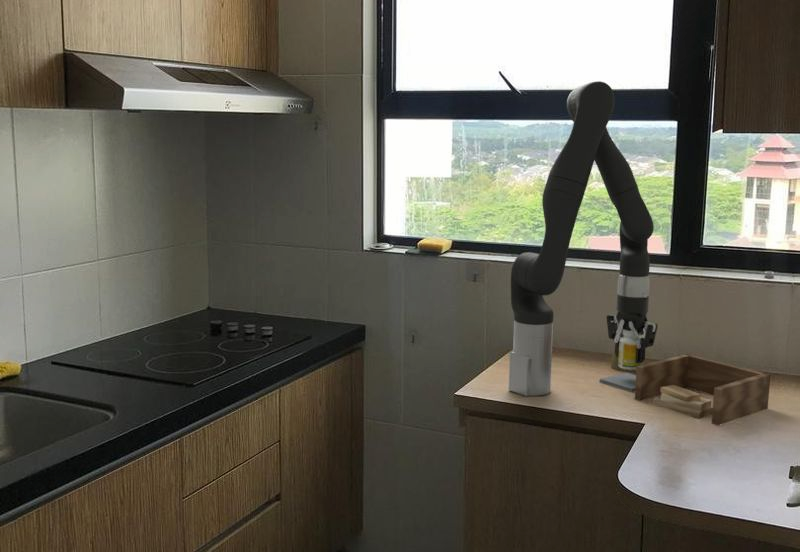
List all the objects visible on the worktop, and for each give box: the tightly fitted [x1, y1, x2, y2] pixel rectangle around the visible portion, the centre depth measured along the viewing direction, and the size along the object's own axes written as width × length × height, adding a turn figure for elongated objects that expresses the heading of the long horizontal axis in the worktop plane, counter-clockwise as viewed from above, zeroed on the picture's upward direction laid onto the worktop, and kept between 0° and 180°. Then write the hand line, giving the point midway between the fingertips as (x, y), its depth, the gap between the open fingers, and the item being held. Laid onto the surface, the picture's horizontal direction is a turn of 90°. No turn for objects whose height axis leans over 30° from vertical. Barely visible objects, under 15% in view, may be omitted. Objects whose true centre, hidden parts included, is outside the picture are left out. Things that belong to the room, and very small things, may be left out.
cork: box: [610, 346, 633, 372], centre depth 232 cm, size 6×6×11 cm
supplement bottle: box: [618, 329, 642, 371], centre depth 218 cm, size 5×5×10 cm
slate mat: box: [599, 371, 636, 393], centre depth 219 cm, size 10×10×1 cm
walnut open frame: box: [634, 353, 771, 426], centre depth 204 cm, size 20×22×8 cm
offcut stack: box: [653, 385, 713, 419], centre depth 200 cm, size 6×12×4 cm, turn 37°
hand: (629, 359), depth 219 cm, fingers closed on supplement bottle, 5 cm apart
